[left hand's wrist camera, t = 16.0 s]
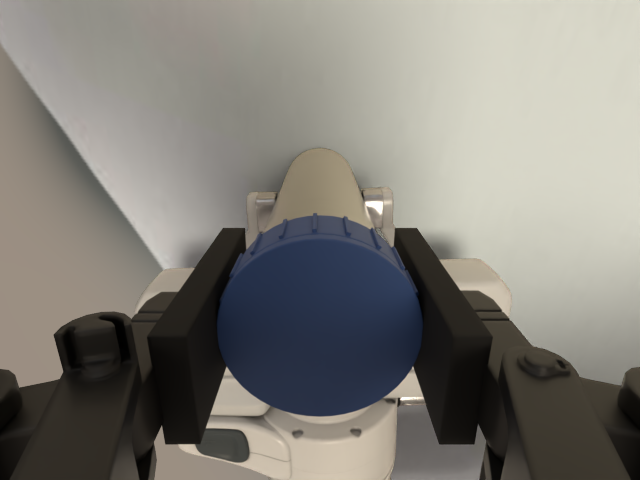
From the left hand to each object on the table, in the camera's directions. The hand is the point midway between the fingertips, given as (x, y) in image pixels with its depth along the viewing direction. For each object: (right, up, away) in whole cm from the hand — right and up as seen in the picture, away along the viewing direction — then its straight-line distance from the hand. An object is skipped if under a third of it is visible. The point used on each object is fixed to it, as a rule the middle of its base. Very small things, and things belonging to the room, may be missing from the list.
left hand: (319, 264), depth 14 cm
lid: (0, -1, -4) cm, 4 cm away
